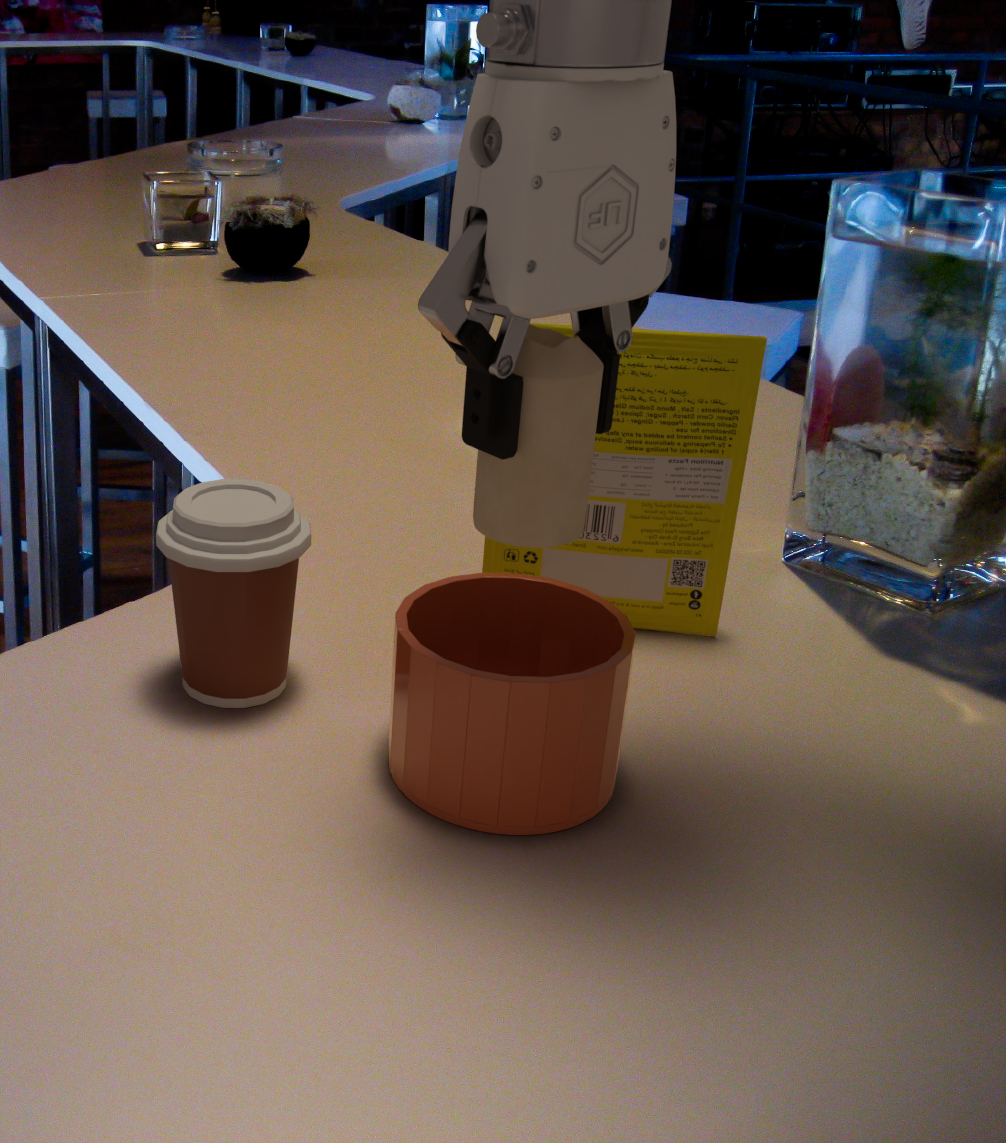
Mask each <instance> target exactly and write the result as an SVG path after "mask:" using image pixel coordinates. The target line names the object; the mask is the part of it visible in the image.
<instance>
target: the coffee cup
mask: <svg viewBox="0 0 1006 1143" xmlns="http://www.w3.org/2000/svg"><path fill="white" fill-rule="evenodd" d="M155 546H156V547H157V548H158V549H159V550H160V552H161V553H162V554H163V555H164V556H165V557H166V558H167V559H168V565H169V574H170V583H171V584H170V585H171V592H172V600H173V607H174V608H173V610H174V617H175V626H176V633H177V634H176V635H177V643H178V644H177V645H178V651H179V660H180V669H181V678H182V688H183V689H184V691H185V692H186V693H187V695H188V696H189V697H191V698H193V699H195V700H197V701H198V702H200V703H202V704H204V705H208V706H213V707H217V708H222V709H246V708H251V707H256V706H261V705H265V704H267V703H269V702H271V701H272V700H274V699H276V698H278V697H280V696H281V694H282V693H283V691H284V690H285V689H286V688H287V677H288V668H289V658H290V649H291V639H292V638H291V637H292V630H293V622H294V621H293V620H294V610H295V603H296V602H295V600H296V591H297V581H298V573H299V563H300V558H302V556H303V555H304V554H305V553H306V552H307V551H308V549H310V547H311V546H312V528H311V522H310V520H309V519H308V518H306V517H305V516H304V515H303V514H302V513H301V512H299V510H297V509H296V508H295V501H294V497H292V495H290V494H289V493H288V492H287V491H285V489H283V488H282V487H280V486H277V485H275V484H271V483H269V482H266V481H261V480H254V479H248V478H221V479H216V480H209V481H202V482H199V483H197V484H193V485H191V486H188V487H185V489H184V490H182V491H181V492H180V493H178V494H177V495H176V496H175V497H174V498H173V504H172V509H171V510H170V511H169V512H168V513H167V514H166V515H164V516H163V517H161V519H160V520H158V522H157V527H156V532H155Z"/></svg>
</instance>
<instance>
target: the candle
mask: <svg viewBox="0 0 1006 1143" xmlns="http://www.w3.org/2000/svg"><path fill="white" fill-rule="evenodd" d="M603 367H604V366H603V363H602V362H601V360H600V359H599V358H598V356H597V355H596V354H595V353H594V352H593V351H592V350H591V349H590V348H589V347H588V346H587V345H586V344H585V343H584V342H583V341H582V340H581V339H580V338H579V337H578V336H577V335H575V336H574V337H573V338H571V337H568V336H565V335H562V334H561V333H559V332H557V331H554V330H550V329H541V328H537V327H535V326H533V325H530V324H529V327H528V330H527V333H526V336H525V339H524V342H523V345H522V347H521V350H520V353H519V356H518V359H517V362H516V365H515V368H514V370H513V372H512V373H513V374H516V375H519V376H522V377H523V394H522V405H521V415H520V426H519V437H518V448H517V452H516V454H515V456H514V457H512V458H508V459H504V460H502V459H499V458H497V457H495V456H492V455H490V454H488V453H485V452H483V451H481V450H478V449H477V457H476V468H475V469H476V470H475V481H474V482H475V483H474V495H473V508H472V509H473V510H472V511H473V512H472V520H473V526H474V528H475V529H476V530H477V531H478V532H479V533H480V534H481V535H483V536H484V537H485V536H486V537H488V538H490V539H493V540H495V541H498V542H501V543H505V544H509V545H515V546H521V547H536V548H541V547H554V546H560V545H564V544H568V543H570V542H573V541H575V540H576V539H578V538H579V537H580V536H581V534H582V532H583V529H584V525H585V518H586V511H587V503H588V494H589V486H590V477H591V469H592V460H593V452H594V443H595V435H596V427H597V418H598V410H599V401H600V393H601V384H602V376H603Z"/></svg>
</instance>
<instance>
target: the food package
mask: <svg viewBox="0 0 1006 1143" xmlns="http://www.w3.org/2000/svg"><path fill="white" fill-rule="evenodd" d="M530 325H533V326H535V327H537V328H541V329H550V330H554V331H557V332H559V333H561V334H562V335H565V336H568V337H571V338H573V337H574V334H573V328H572V324H553V323H537V322H535V323H534V322H530ZM767 342H768V337H767V336H765V335H761V336H760V335H748V334H747V335H745V334H729V333H712V332H696V331H695V332H694V331H682V330H681V331H679V330H678V331H677V330H664V329H663V330H662V329H661V330H660V329H643V328H642V329H641V328H632V342H631V344H630V346H629V348H628V349H627V350H626V351H624V352H617V354H619V355H620V362H619V370H618V379H617V387H616V395H615V403H614V411H613V419H612V427H611V430H610V431H609V432H606V433H602V434H597V433H596V435H595V443H594V452H593V460H592V469H591V477H590V486H589V494H588V503H587V511H586V518H585V525H584V529H583V532H582V534H581V536H580V537H579V538H578V539H576V540H575V541H573V542H570V543H568V544H564V545H560V546H554V547H541V548H536V547H521V546H515V545H509V544H505V543H501V542H498V541H495V540H493V539H490V538H488V537H486V536H485V535H484V544H483V556H482V557H483V558H482V568H481V573H516V574H524V575H531V576H537V577H544V578H550V579H554V580H558V581H561V582H564V583H568V584H571V585H575V586H578V587H581V588H584V589H586V590H588V591H590V592H592V593H594V594H596V595H598V596H600V597H602V598H604V599H606V600H608V601H609V602H611V603H612V604H613V605H615V606H616V607H617V608H618V609H619V610H620V611H622V612H623V613H624V614H625V615H626V616H627V617H628V618H629V620H630V623H631V625H632V627H633V629H639V630H650V631H659V632H671V633H679V634H688V635H697V636H707V637H717V635H718V630H719V622H720V618H721V611H722V606H723V600H724V595H725V594H724V593H725V587H726V583H727V582H726V581H727V575H728V571H729V566H730V559H731V551H732V546H733V541H734V535H735V529H736V525H737V524H736V523H737V518H738V512H739V507H740V506H739V505H740V500H741V494H742V489H743V488H742V487H743V482H744V476H745V470H746V464H747V458H748V453H749V447H750V441H751V435H752V429H753V424H754V418H755V412H756V406H757V401H758V396H759V395H758V394H759V388H760V383H761V377H762V370H763V364H764V359H765V358H764V357H765V353H766V346H767Z"/></svg>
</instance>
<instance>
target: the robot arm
mask: <svg viewBox="0 0 1006 1143" xmlns="http://www.w3.org/2000/svg"><path fill="white" fill-rule="evenodd" d="M672 2H673V0H489V10H488V12H486V13H484V14H482V15H481V16H480V17H479V18H478V21H477V23H476V28H475V34H476V39H477V42H478V43H479V45H480V46H481V47H483V48H486V50H485V52H486V53H485V61H484V72H483V73H478V74H477V75H476V79H475V82H474V86H473V90H472V93H471V97H470V101H469V105H468V110H467V113H466V119H465V123H464V128H463V134H462V138H461V144H460V149H459V154H458V161H457V167H456V173H455V179H454V187H453V194H452V204H451V211H450V212H451V213H450V222H449V235H448V251H447V254H448V255H447V256H446V258H445V259H444V260H443V262H442V263H441V265H440V267H439V268H438V270H437V271H436V273H435V274H434V276H433V277H432V279H431V280H430V281H429V283H428V284H427V286H426V287H425V289H424V291H423V292H422V294H421V295H420V297H419V298H418V301H417V309H418V312H419V313H420V315H422V316H423V317H424V319H426V320H427V322H428V323H429V324H430V325H432V327H433V328H434V329H435V330H436V331H438V332H440V336H441V338H442V339H443V341H445V343H446V344H447V345H448V346H449V348H450V349H451V350H452V351H453V352H454V353H455V355H454V356H455V361H456V362H457V363H458V364H459V365H461V366H464V367H466V370H465V380H464V381H465V382H464V395H463V409H462V410H463V411H462V423H461V440H462V442H463V443H464V444H465V445H467V446H470V447H471V448H474V449H476V450H477V451H478V450H481V451H483V452H485V453H488V454H490V455H492V456H495V457H497V458H499V459H502V460H504V459H508V458H512V457H514V456H515V454H516V452H517V448H518V437H519V426H520V415H521V405H522V394H523V377H522V376H519V375H516V374H513V373H512V372H513V370H514V368H515V365H516V362H517V359H518V356H519V353H520V350H521V347H522V345H523V342H524V339H525V336H526V333H527V330H528V327H529V324H530V323H531V321H532V320H535V319H543V318H544V319H545V318H548V317H549V318H550V317H555V316H560V315H565V314H569V316H570V321H571V325H572V328H573V334H574V336H575V335H577V336H578V337H579V338H580V339H581V340H582V341H583V342H584V343H585V344H586V345H587V346H588V347H589V348H590V349H591V350H592V351H593V352H594V353H595V354H596V355H597V356H598V358H599V359H600V360H601V362H602V363H603V366H604V367H603V376H602V384H601V393H600V401H599V410H598V418H597V427H596V433H597V434H602V433H606V432H609V431H610V430H611V427H612V419H613V411H614V403H615V395H616V387H617V379H618V370H619V362H620V355H619V354H617V352H624V351H626V350H627V349H628V348H629V346H630V344H631V342H632V329H633V327H634V326H635V325H636V323H637V322H638V321H639V319H640V318H641V317H642V315H643V314H644V312H645V311H646V309H647V308H648V305H649V302H650V298H652V297H653V295H654V294H655V293H656V291H657V290H658V289H659V288H660V287H661V285H662V284H663V283H664V281H665V280H666V279H667V277H668V276H669V275H670V273H671V271H672V268H673V263H672V259H671V258H670V256H669V252H670V243H671V236H672V227H673V226H672V225H673V214H674V201H675V186H676V171H677V170H676V166H677V165H676V164H677V112H676V111H677V110H676V94H675V85H674V84H675V83H674V75H673V74H674V73H673V71H671V70H666V69H665V68H664V67H665V56H666V49H667V41H668V34H669V32H668V31H669V24H670V17H671V9H672ZM664 69H665V70H664ZM467 301H469V302H470V306H469V309H467V307H466V302H467ZM495 316H497V317H500V318H502V320H501V324H500V326H499V330H498V332H497V336H496V338H495V339H494V337H493V336H492V334H490V331H491V328H492V325H493V323H494V320H495Z"/></svg>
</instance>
